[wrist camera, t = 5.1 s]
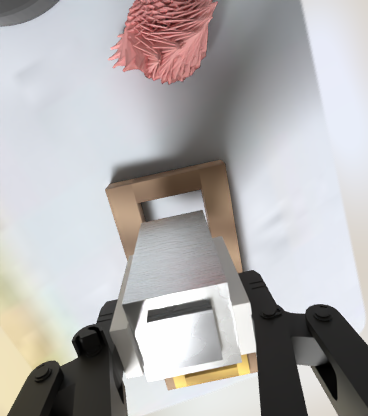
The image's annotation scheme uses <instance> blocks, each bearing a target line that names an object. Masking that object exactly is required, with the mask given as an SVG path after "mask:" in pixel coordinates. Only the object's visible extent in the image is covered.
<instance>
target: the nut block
mask: <svg viewBox="0 0 368 416" xmlns="http://www.w3.org/2000/svg"><path fill="white" fill-rule="evenodd" d="M230 300H231V299H230V294H229V288H228V283H227V280H226V277H225V274H224V271H223V268H222V265H221V262H220V259H219V257H218V254H217V251H216V248H215V245H214V242H213V239H212V236H211V233H210V230H209V228H208V225H207V222H206V219H205V216H204V213H203V210H200V211H195V212H190V213H186V214H181V215H177V216H172V217H167V218H163V219H158V220H153V221H149V222H144V223H141V225H140V230H139V234H138V238H137V242H136V247H135V251H134V255H133V260H132V264H131V268H130V272H129V277H128V281H127V285H126V290H125V294H124V298H123V303H122V306H123V309H124V312H125V315H126V318H127V321H128V322H129V325H130V328H131V331H132V334H133V337H134V340H135V343H136V346H137V349H138V352H139V354H140V357H141V360H142V363H143V366H144V370H145V373H146V376H147V379H148V382H150V381H155V380H160V379H165V378H169V377H174V376H179V375H184V374H189V373H194V372H199V371H203V370H208V369H213V368H218V367H223V366H228V365H233V364H237V363H242V359H241V353H240V349H239V344H238V339H237V334H236V328H235V323H234V318H233V312H232V307H231V301H230Z"/></svg>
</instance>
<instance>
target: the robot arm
mask: <svg viewBox="0 0 368 416" xmlns="http://www.w3.org/2000/svg"><path fill="white" fill-rule="evenodd" d="M58 1H59V0H0V26H11V25H17V24H20V23H24V22H27V21H30V20H32V19H34V18H36V17H38V16H40V15H42V14H43V13H45V12H46V11H48V10H49V9H50V8H52V7H53V6H54V5H55V4H56V3H57V2H58ZM212 239H213V242H214V245H215V248H216V251H217V254H218V257H219V259H220V262H221V265H222V268H223V271H224V274H225V277H226V280H227V283H228V288H229V294H230V299H231V300H230V301H231V307H232V312H233V318H234V323H235V328H236V334H237V339H238V344H239V349H240V352H241V355H244V354H249V353H254V352H256V354H257V367H258V379H259V393H260V406H261V416H308V414H307V409H306V405H305V400H304V396H303V391H302V387H301V382H300V378H299V373H298V369H297V365H308V366H311V368H312V370H313V372H314V373H315V375H316V377H317V378H318V380H319V382H320V384H321V386H322V387H323V389H324V391H325V393H326V394H327V396H328V398H329V399H330V401H331V403H332V405H333V407H334V408H335V410H336V412H337V414H338V416H368V345H367V344H366V343H365V342H364V340H363V339H362V338H361V337H360V336H359V335H358V333H357V332H356V331H355V330H354V329H353V328H352V326H351V325H350V324H349V323H348V322H347V321H346V320H345V318H344V317H343V316H342V315H341V314H340V313H339V312H338V311H337V310H336V309H335V308H333V307H331V306H328V305H323V304H317V305H313V306H310V307H309V308H308V309H307V310H306V313H305V314H296V313H289V312H286V311H284V310H283V308H281V307H280V306H279V305H277V304H276V302H275V301H274V299H273V297H272V295H271V293H270V292H269V290H268V288H267V287H266V284H265V283H264V281H263V279H262V277H261V275H260V274H258V273H257V272H255V271H254V270H251V271H246V272H242V273H237V270H236V268H235V266H234V263H233V261H232V259H231V256H230V254H229V252H228V249H227V247H226V245H225V242H224V240H223V237H222V236H219V237H215V238H212ZM132 260H133V255H131V256H129V258H128V262H127V266H126V270H125V274H124V278H123V281H122V285H121V289H120V293H119V297H118V299H117V300H112V301H108V302H106V303H105V305H104V306H103V307H102V308H101V310H100V313H99V317H98V319H97V323H96V324H93V325H89V326H86V327H84V328H82V329H81V330H80V331H78V332H77V333H76V334H75V336H74V337H73V339H72V343H73V346H74V348H75V350H76V352H77V355H78V358H76V359H75V360H73V361H71V362H69V363H67V364H64V365H62V366H60V365H59V363H58V362H56V361H48V362H45V363H42V364H41V365H39V366H38V367H36V368H35V369H34V370H33V371H32V372H31V373H30V375H29V376H28V378H27V380H26V381H25V383H24V385H23V387H22V389H21V391H20V393H19V394H18V396H17V398H16V400H15V402H14V404H13V406H12V408H11V410H10V411H9V413H8V415H7V416H128V413H127V403H126V393H125V386H124V383H123V381H122V377H123V371H124V372H125V375H126V377H127V379H128V378H133V377H137V376H142V375H143V373H144V366H143V363H142V360H141V357H140V354H139V352H138V349H137V346H136V343H135V340H134V337H133V334H132V331H131V328H130V325H129V322H128V321H127V318H126V315H125V312H124V309H123V306H122V303H123V298H124V294H125V290H126V285H127V281H128V277H129V272H130V268H131V264H132Z"/></svg>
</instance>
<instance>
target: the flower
mask: <svg viewBox="0 0 368 416" xmlns="http://www.w3.org/2000/svg"><path fill="white" fill-rule="evenodd" d="M212 1H213V0H136V1H134V3H133V6H132V7H131V8H129V11H130V12H129V13H128V16H127V18H128V19H127V21H126V22H125V25H126V27H125V30H124V33H123V34H120V35H118V36H117V37H122V38H121V40H120V41H119V42H118V43H117V44H116V45H115V46H113V47H111V50H113V49H118V50H117V52H116V53H115V54H114V55H113V56H112V57H110V58H109V59H108V60H114V59H117V58H119V60H118V61H117V63H116V64H114V66H113V68H115V67H116V66H125V68H124V69H123V71H124V72H125V71H128V70H133V69H139V70H141V71H142V72H144V74H145V76H146V78H147V77H148V78H149V79H150V78H152V79H153V81H154V80H157V79H161V83H162V84H163V83H165V82H167V81H168V84H171V83H173V82H176V81H181V82H183V81H184V80H185V78H187V77H189V76H191V75H193V72H195V70H196V69H198V68H200V62H201V60H202V59H203V58H205V57H206V53H205V52H206V51H207V42H208V41H207V39H208V23H209V21H210V20H211V19H212V18H213V17H212V14H213V11H214V9H215V7H216V5H217V4H218V1H217V2H213V3H212Z"/></svg>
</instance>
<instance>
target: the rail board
mask: <svg viewBox="0 0 368 416" xmlns="http://www.w3.org/2000/svg"><path fill="white" fill-rule="evenodd" d="M196 190H201V192H202V197H203V202H204V207H205V212H206V217H207V222H208V227H209V230H210V233H211V236H212V238H215V237H219V236H222V237H223V240H224V242H225V245H226V247H227V249H228V252H229V254H230V256H231V259H232V261H233V263H234V266H235V268H236V270H237V273H242V272H243V271H242V265H241V258H240V252H239V246H238V240H237V234H236V228H235V221H234V215H233V209H232V203H231V197H230V191H229V184H228V178H227V172H226V166H225V163H224V162H223V161H222V160H216V161H212V162H207V163H203V164H198V165H193V166H189V167H184V168H180V169H175V170H171V171H166V172H161V173H157V174H152V175H148V176H143V177H139V178H134V179H130V180H125V181H120V182H116V183H111V184H109V185H108V187H107V188H106V189H105V191H106V194H107V197H108V201H109V204H110V207H111V210H112V213H113V217H114V220H115V223H116V226H117V229H118V232H119V236H120V239H121V242H122V245H123V248H124V252H125V255H126V258H127V261H128V258H129V256H131V255H134V251H135V247H136V242H137V238H138V234H139V230H140V225H141V223H144V222H146V220H145V216H144V213H143V209H142V205H141V202H145V201H150V200H155V199H159V198H164V197H168V196H173V195H178V194H182V193H187V192H191V191H196ZM240 353H241V352H240ZM241 359H242V363H237V364H233V365H228V366H223V367H218V368H213V369H208V370H203V371H199V372H194V373H189V374H184V375H179V376H174V377H169V378H165V382H166V385H167V388H168V390H172V389H177V388H182V387H187V386H191V385H196V384H201V383H206V382H211V381H216V380H220V379H225V378H230V377H235V376H240V375H245V374H250V373H254V372H258V367H257V357H256V352H254V353H249V354H244V355H241Z"/></svg>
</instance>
